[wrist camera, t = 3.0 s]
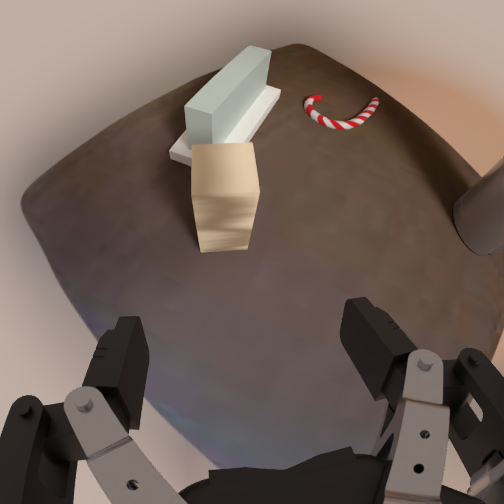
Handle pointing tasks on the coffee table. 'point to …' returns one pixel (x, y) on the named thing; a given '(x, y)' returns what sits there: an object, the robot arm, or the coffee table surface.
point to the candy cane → (338, 124)
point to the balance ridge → (228, 105)
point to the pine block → (224, 194)
